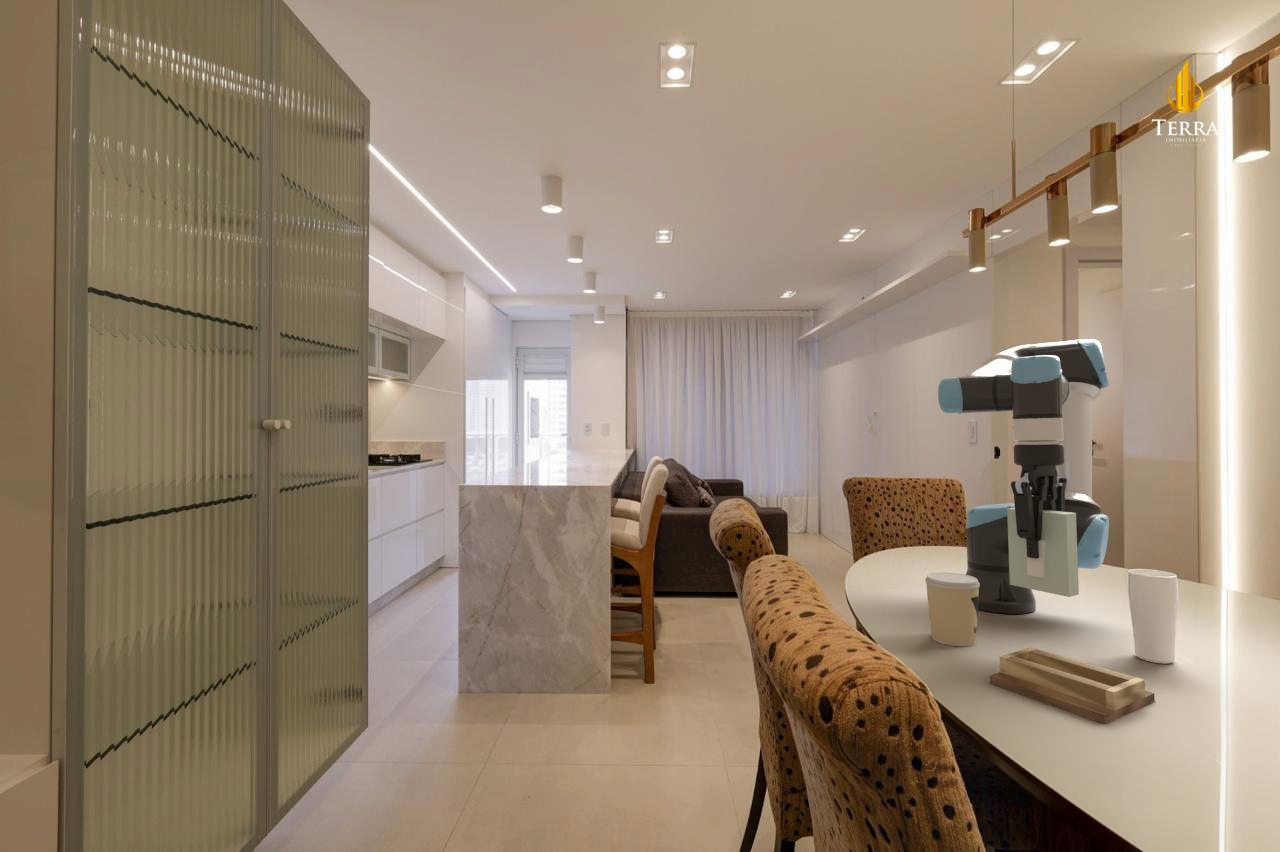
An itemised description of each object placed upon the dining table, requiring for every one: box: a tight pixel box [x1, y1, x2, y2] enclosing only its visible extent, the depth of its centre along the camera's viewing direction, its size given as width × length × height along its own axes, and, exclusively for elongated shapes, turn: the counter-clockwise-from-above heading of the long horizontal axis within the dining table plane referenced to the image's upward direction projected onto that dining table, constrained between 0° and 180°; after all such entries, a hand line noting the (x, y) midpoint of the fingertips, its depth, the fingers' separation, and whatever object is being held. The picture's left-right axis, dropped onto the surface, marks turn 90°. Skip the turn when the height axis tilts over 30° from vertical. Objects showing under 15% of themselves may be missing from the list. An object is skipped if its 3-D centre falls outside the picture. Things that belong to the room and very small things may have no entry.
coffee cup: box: [925, 572, 980, 647], centre depth 118 cm, size 9×9×12 cm
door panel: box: [1007, 508, 1080, 598], centre depth 108 cm, size 3×10×14 cm, turn 28°
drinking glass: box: [1126, 568, 1179, 665], centre depth 106 cm, size 7×7×15 cm
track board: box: [989, 646, 1155, 725], centre depth 93 cm, size 14×16×4 cm
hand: (1042, 574), depth 108 cm, fingers closed on door panel, 3 cm apart
